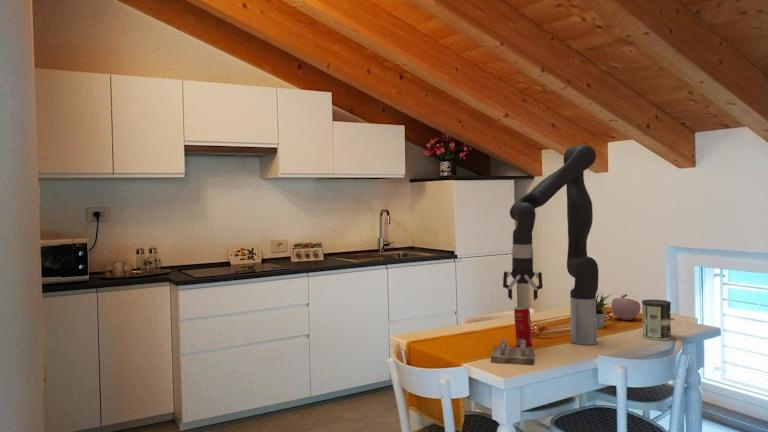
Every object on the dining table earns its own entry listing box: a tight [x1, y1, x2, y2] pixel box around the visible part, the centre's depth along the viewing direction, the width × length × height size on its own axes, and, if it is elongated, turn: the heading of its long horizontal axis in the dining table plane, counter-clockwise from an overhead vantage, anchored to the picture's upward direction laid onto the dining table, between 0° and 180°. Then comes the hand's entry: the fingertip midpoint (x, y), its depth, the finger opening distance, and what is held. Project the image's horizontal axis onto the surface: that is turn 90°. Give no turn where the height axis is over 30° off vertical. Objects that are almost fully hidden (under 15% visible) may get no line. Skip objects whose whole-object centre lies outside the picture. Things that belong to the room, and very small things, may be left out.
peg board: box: [490, 338, 535, 366], centre depth 198 cm, size 14×14×6 cm
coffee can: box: [641, 299, 672, 341], centre depth 223 cm, size 10×10×14 cm
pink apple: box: [610, 293, 641, 321], centre depth 255 cm, size 12×12×11 cm
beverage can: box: [513, 306, 533, 348], centre depth 212 cm, size 6×6×15 cm
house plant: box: [596, 292, 613, 329], centre depth 243 cm, size 14×14×16 cm
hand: (522, 299), depth 212 cm, fingers open, 8 cm apart
